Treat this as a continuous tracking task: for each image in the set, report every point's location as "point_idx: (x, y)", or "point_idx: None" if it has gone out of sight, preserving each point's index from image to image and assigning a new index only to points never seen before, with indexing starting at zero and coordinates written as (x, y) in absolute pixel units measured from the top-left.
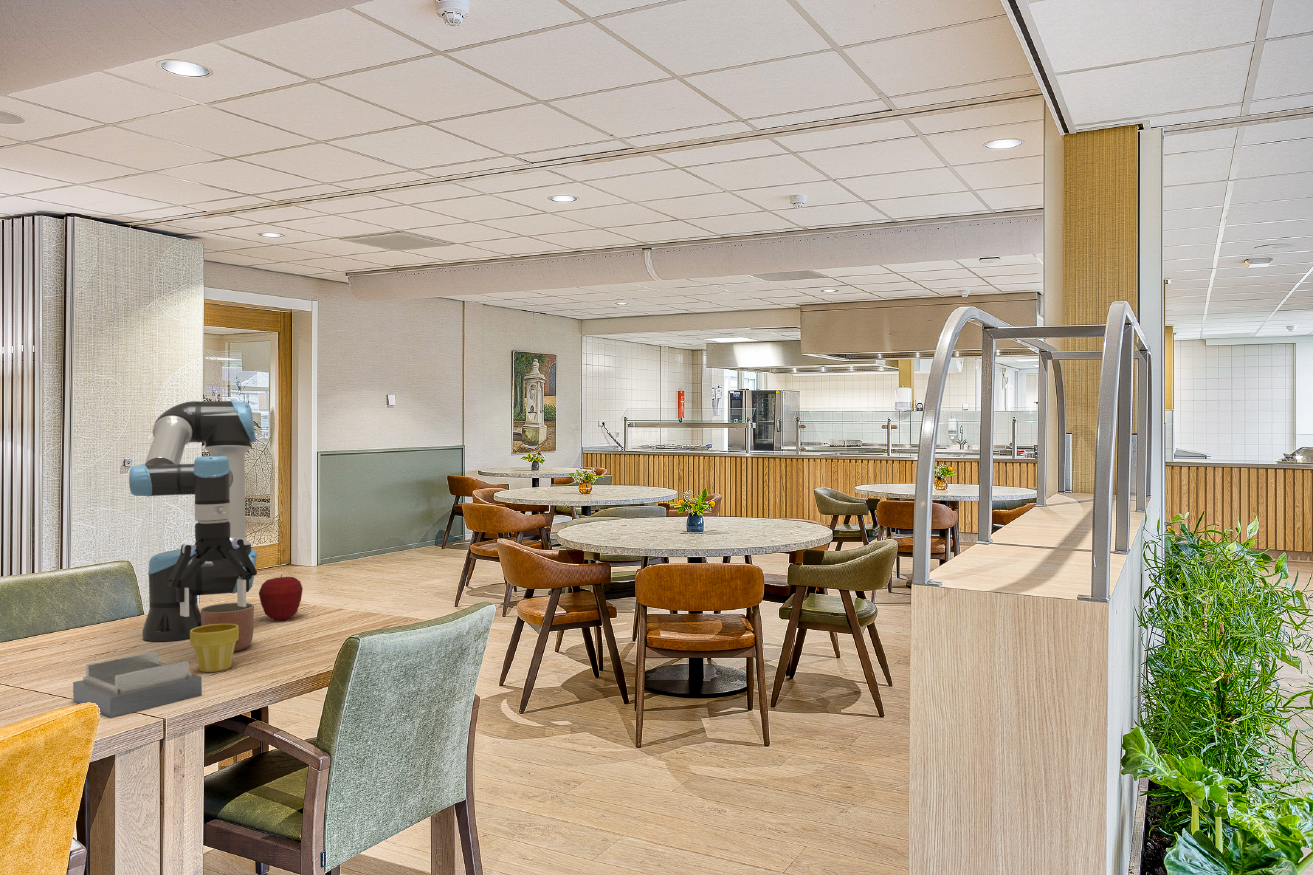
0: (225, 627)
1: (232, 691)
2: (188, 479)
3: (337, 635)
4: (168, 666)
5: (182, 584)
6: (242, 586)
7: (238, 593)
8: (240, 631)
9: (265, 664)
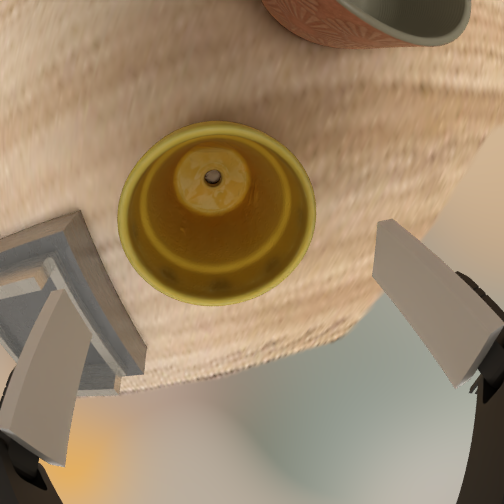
0: (284, 163)
1: (194, 355)
2: None
3: (498, 113)
4: (87, 394)
5: (34, 483)
6: (436, 350)
7: (419, 276)
8: (365, 47)
9: (320, 223)
